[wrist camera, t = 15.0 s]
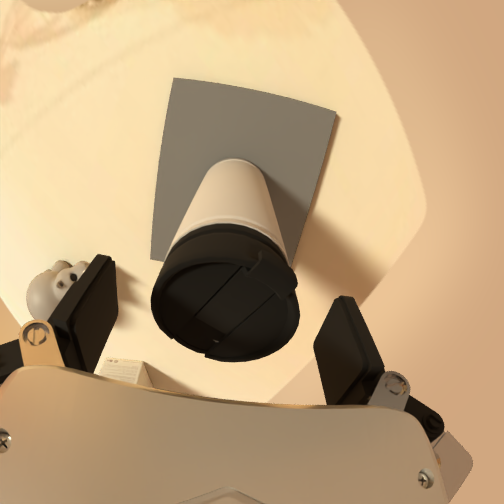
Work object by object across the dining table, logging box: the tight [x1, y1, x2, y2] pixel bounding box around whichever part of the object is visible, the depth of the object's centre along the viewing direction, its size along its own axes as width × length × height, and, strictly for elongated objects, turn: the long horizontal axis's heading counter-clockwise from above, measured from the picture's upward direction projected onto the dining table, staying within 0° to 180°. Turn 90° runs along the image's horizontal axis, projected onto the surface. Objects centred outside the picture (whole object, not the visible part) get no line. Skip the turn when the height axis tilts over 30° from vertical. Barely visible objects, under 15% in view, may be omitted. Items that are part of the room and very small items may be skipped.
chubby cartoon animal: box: [26, 260, 90, 322], centre depth 30 cm, size 7×12×8 cm, turn 116°
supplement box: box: [99, 358, 153, 388], centre depth 38 cm, size 7×7×13 cm
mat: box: [150, 78, 336, 267], centre depth 29 cm, size 20×16×1 cm
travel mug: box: [151, 157, 300, 362], centre depth 20 cm, size 6×7×20 cm
